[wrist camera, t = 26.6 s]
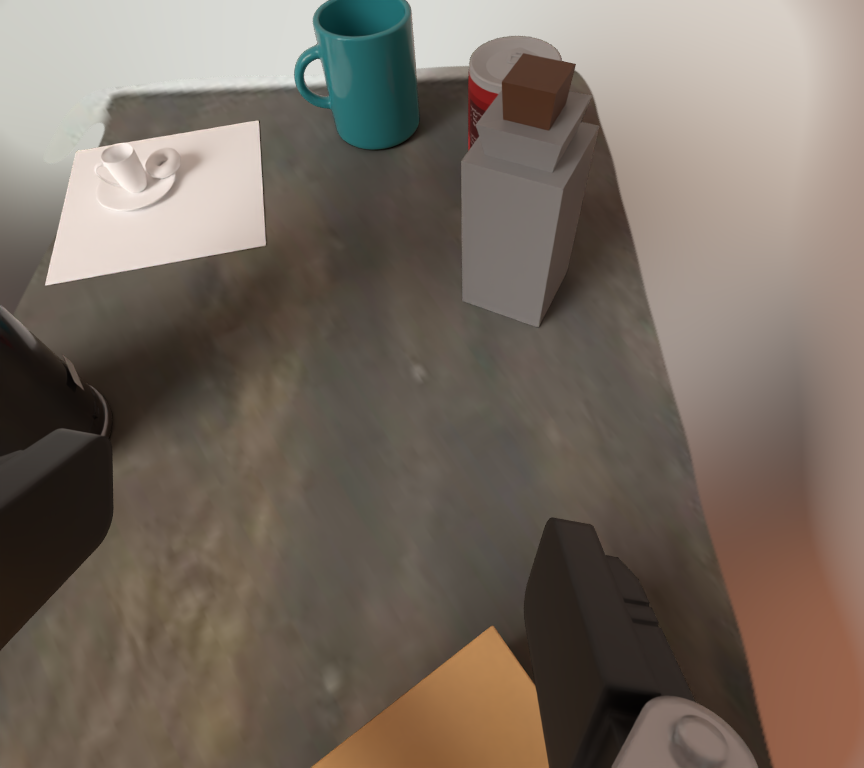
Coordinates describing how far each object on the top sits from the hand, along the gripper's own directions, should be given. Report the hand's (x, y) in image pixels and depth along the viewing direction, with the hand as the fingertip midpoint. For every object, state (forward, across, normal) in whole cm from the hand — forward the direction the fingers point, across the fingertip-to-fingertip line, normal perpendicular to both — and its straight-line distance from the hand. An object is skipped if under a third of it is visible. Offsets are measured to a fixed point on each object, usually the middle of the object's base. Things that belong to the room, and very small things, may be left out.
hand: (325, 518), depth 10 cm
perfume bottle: (+39, -8, +2) cm, 40 cm away
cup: (+57, +9, -9) cm, 58 cm away
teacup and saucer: (+50, +27, +1) cm, 57 cm away
